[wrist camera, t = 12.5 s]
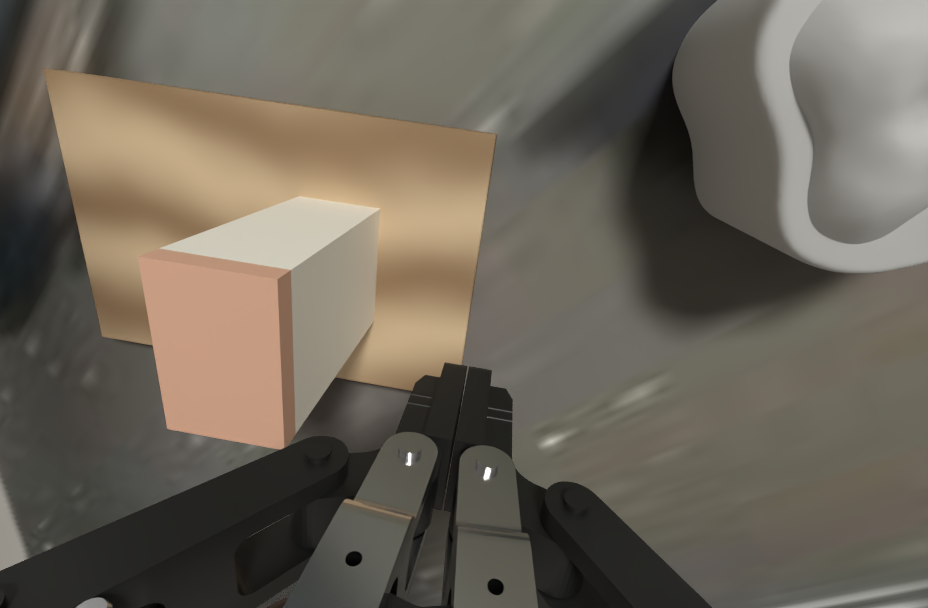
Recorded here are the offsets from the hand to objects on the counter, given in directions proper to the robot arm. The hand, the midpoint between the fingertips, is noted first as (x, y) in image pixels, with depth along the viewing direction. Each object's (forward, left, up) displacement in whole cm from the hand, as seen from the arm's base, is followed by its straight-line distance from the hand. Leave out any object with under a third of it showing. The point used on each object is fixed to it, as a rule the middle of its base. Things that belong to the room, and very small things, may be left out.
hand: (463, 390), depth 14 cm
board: (0, -11, -10) cm, 15 cm away
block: (0, -7, -9) cm, 12 cm away
